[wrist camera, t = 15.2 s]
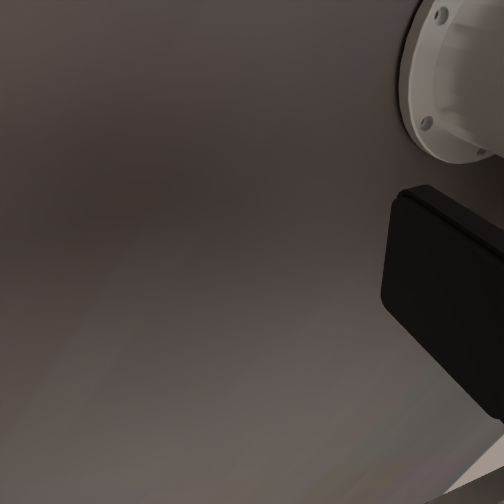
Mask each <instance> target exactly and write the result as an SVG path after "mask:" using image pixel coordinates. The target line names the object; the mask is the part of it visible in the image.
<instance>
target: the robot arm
mask: <svg viewBox="0 0 504 504" xmlns="http://www.w3.org/2000/svg"><path fill="white" fill-rule="evenodd" d="M398 87H399V103H400V110H401V114H402V118H403V122H404V125H405V127H406V129H407V131H408V133H409V135H410V137H411V139H412V140H413V141H414V142H415V143H416V144H417V145H418V146H419V148H420V149H421V150H423V151H425V152H426V153H428V154H430V155H431V156H433V157H435V158H438V159H440V160H442V161H445V162H447V163H456V164H465V163H472V162H477V161H479V160H482V159H485V158H488V157H490V156H492V155H494V154H496V155H498V156H501V157H503V158H504V0H423V2H422V4H421V6H420V7H419V9H418V11H417V13H416V15H415V18H414V21H413V23H412V26H411V29H410V31H409V34H408V36H407V39H406V43H405V47H404V52H403V56H402V60H401V65H400V76H399V86H398ZM381 300H382V303H383V305H384V307H385V308H386V309H387V310H388V312H389V313H390V314H391V315H392V316H393V317H394V318H395V319H396V320H397V321H398V322H399V323H400V324H401V325H402V326H403V327H404V328H405V329H406V330H407V331H408V332H409V333H410V334H411V335H412V336H413V337H414V338H415V339H416V340H417V342H418V343H419V344H420V345H421V346H422V347H423V348H424V349H425V350H426V351H427V352H428V353H429V354H430V355H431V356H432V357H433V358H434V359H435V360H436V361H437V362H438V363H439V364H440V365H441V366H442V367H443V368H444V369H445V370H446V371H447V373H448V374H449V375H450V376H451V377H452V378H453V379H454V380H455V381H456V382H457V383H458V384H459V385H460V386H461V387H462V388H463V389H464V390H465V391H466V392H467V393H468V394H469V395H470V396H471V397H472V398H473V399H474V400H475V401H476V402H477V404H478V405H479V406H480V407H481V408H482V409H483V410H484V411H485V412H486V413H487V414H488V415H490V416H491V417H493V418H495V419H500V420H501V421H502V423H503V424H504V231H503V230H501V229H500V228H498V227H496V226H495V225H493V224H492V223H490V222H488V221H487V220H485V219H483V218H482V217H480V216H479V215H477V214H475V213H474V212H472V211H470V210H469V209H467V208H466V207H464V206H462V205H461V204H459V203H457V202H456V201H454V200H453V199H451V198H449V197H448V196H446V195H444V194H443V193H441V192H440V191H438V190H436V189H435V188H433V187H431V186H429V185H420V186H417V187H413V188H409V189H405V190H402V191H401V192H399V194H398V195H397V198H396V199H395V200H394V201H393V202H392V206H391V214H390V222H389V230H388V238H387V246H386V254H385V262H384V270H383V278H382V286H381ZM425 504H504V466H503V467H501V468H499V469H497V470H495V471H493V472H490V473H488V474H486V475H484V476H482V477H480V478H478V479H475V480H473V481H471V482H469V483H467V484H465V485H463V486H461V487H459V488H456V489H454V490H452V491H450V492H448V493H446V494H444V495H442V496H440V497H438V498H435V499H433V500H431V501H429V502H427V503H425Z"/></svg>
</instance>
